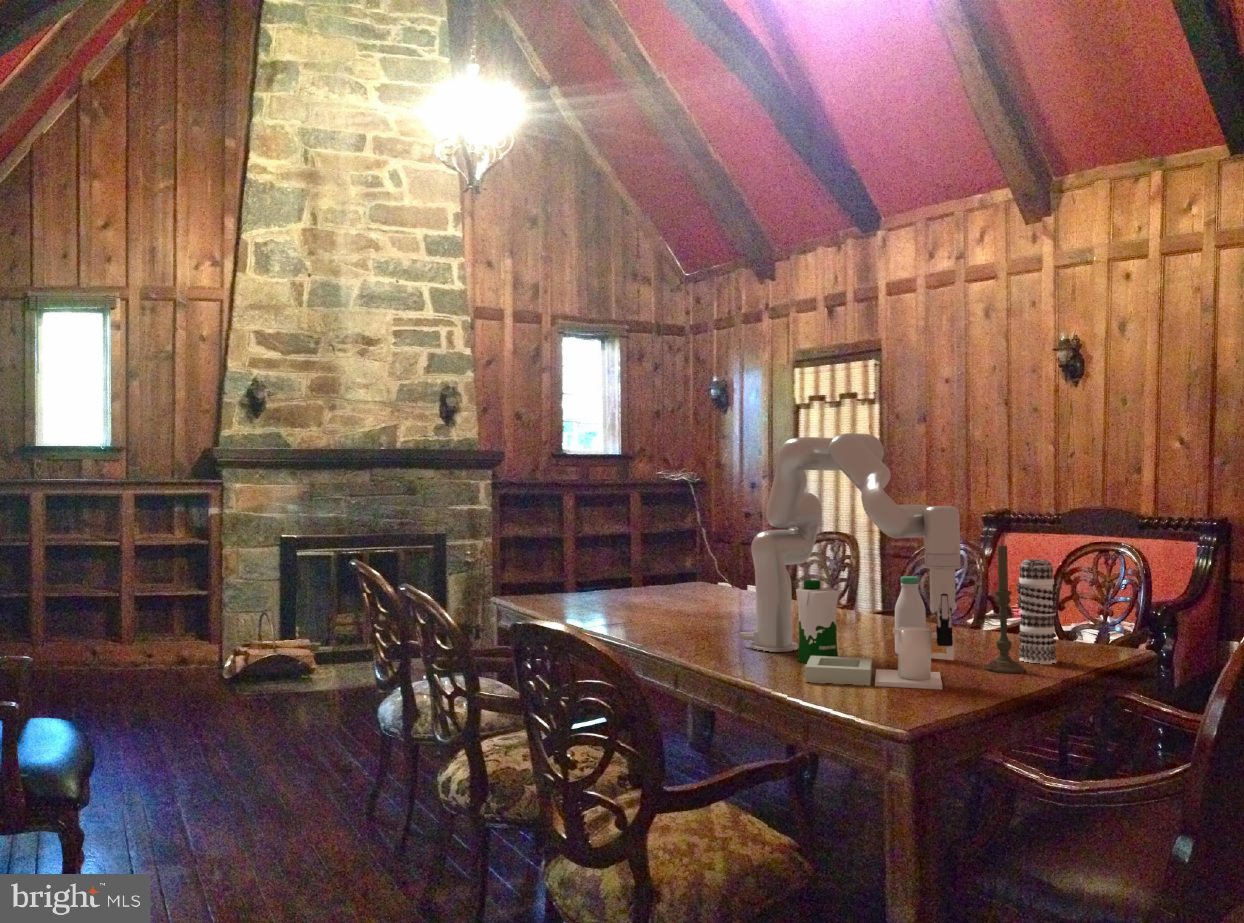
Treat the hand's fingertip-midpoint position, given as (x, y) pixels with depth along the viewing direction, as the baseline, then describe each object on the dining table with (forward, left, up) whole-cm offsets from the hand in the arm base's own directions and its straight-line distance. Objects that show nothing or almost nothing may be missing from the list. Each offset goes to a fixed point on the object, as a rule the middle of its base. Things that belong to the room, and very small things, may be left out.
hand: (944, 644), depth 211 cm
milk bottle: (-7, +34, -9) cm, 36 cm away
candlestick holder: (+14, +19, -9) cm, 25 cm away
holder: (-23, 0, -9) cm, 24 cm away
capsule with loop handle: (-5, 0, -8) cm, 9 cm away
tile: (-8, 0, -9) cm, 12 cm away
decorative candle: (+23, +32, -9) cm, 41 cm away
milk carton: (-29, +17, -9) cm, 35 cm away
